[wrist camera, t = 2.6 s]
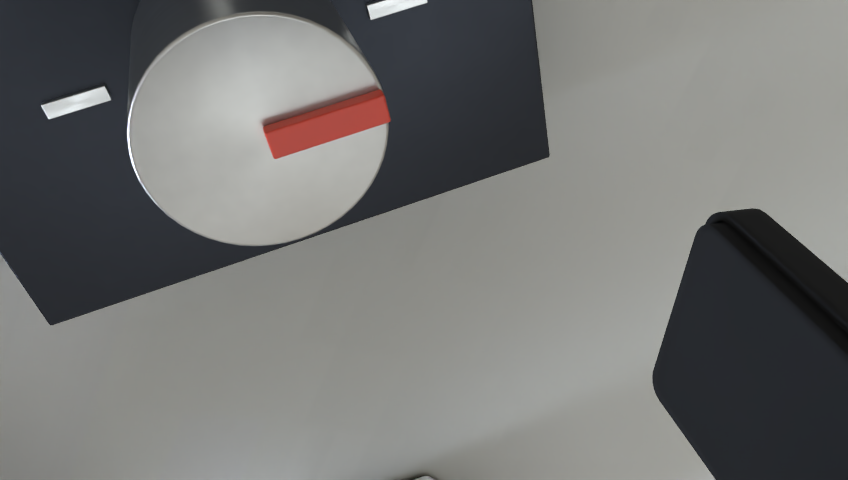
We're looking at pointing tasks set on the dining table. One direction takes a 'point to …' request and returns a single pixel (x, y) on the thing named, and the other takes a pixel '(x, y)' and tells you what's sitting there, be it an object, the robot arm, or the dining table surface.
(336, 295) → the dining table surface
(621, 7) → the dining table surface
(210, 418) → the dining table surface
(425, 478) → the jar
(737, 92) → the dining table surface
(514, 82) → the control panel
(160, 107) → the dial knob
